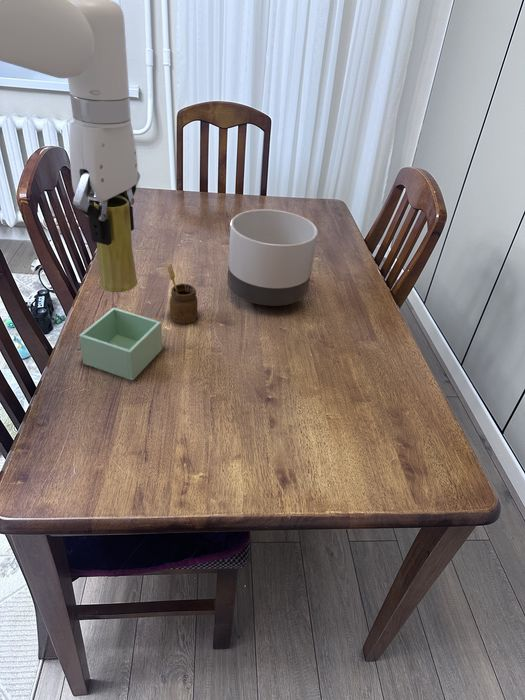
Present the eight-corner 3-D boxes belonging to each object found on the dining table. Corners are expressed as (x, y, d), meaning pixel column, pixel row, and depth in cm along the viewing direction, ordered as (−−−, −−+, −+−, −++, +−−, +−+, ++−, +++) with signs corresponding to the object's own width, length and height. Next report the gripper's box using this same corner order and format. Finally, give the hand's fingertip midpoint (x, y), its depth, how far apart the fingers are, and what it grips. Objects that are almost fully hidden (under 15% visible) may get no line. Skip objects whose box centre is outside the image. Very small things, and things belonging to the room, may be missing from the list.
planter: (321, 307, 115) (335, 238, 105) (250, 324, 107) (257, 251, 96) (280, 270, 128) (288, 205, 118) (213, 282, 120) (216, 213, 109)
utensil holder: (190, 327, 104) (190, 278, 97) (163, 320, 105) (162, 270, 98) (201, 313, 109) (202, 265, 101) (176, 306, 110) (175, 258, 103)
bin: (83, 363, 92) (78, 335, 88) (116, 334, 100) (113, 307, 96) (132, 380, 89) (130, 352, 85) (162, 349, 97) (161, 322, 93)
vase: (132, 294, 79) (126, 210, 71) (94, 291, 79) (83, 206, 70) (140, 276, 84) (135, 195, 76) (105, 273, 84) (96, 191, 75)
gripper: (115, 96, 73) (124, 212, 84) (33, 116, 60) (56, 250, 71) (158, 105, 71) (162, 222, 82) (84, 127, 58) (100, 263, 69)
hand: (113, 234), depth 76 cm, fingers closed on vase, 5 cm apart
